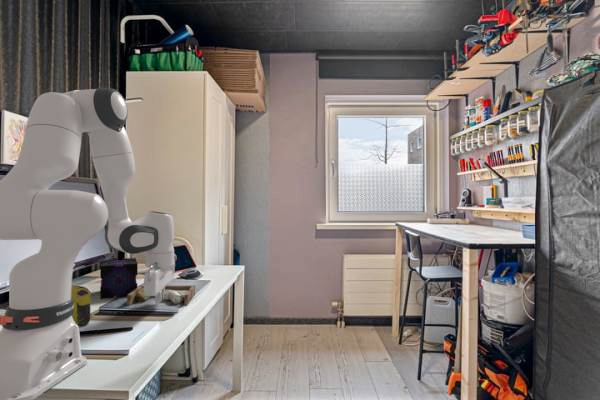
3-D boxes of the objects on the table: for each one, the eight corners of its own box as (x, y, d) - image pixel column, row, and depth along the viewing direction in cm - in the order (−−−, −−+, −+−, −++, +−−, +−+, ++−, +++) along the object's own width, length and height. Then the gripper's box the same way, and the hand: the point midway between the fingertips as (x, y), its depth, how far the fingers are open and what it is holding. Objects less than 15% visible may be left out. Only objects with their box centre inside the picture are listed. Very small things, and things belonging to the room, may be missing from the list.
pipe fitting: (181, 306, 121) (189, 299, 127) (181, 295, 120) (189, 288, 127) (159, 305, 121) (168, 298, 128) (158, 294, 121) (168, 287, 128)
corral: (187, 305, 120) (187, 294, 120) (127, 305, 119) (127, 295, 119) (195, 294, 132) (195, 285, 132) (140, 295, 131) (140, 285, 131)
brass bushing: (153, 295, 129) (148, 299, 124) (142, 298, 128) (137, 302, 123) (150, 285, 128) (145, 289, 123) (140, 288, 128) (134, 292, 123)
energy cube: (100, 299, 125) (100, 266, 125) (101, 291, 135) (101, 260, 135) (137, 295, 131) (137, 263, 130) (135, 287, 141) (135, 257, 141)
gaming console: (95, 324, 102) (95, 290, 102) (79, 328, 99) (79, 293, 99) (55, 307, 116) (55, 277, 116) (40, 310, 113) (40, 279, 113)
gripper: (159, 267, 106) (159, 312, 107) (177, 254, 127) (177, 292, 127) (138, 266, 106) (137, 312, 106) (159, 254, 126) (159, 292, 127)
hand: (159, 301), depth 117 cm, fingers closed
